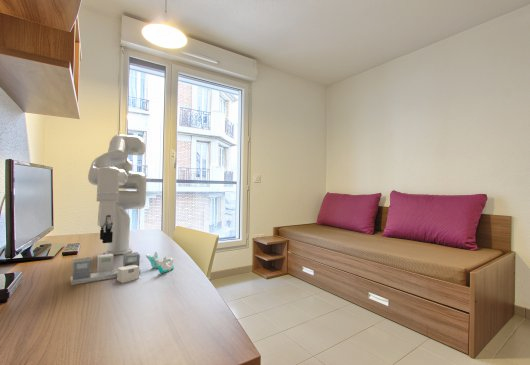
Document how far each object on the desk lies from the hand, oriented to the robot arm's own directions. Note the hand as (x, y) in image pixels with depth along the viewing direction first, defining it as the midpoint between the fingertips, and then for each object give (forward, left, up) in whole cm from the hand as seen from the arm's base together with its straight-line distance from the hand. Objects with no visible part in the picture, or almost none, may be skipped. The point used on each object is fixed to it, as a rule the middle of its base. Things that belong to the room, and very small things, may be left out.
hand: (105, 240), depth 104 cm
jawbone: (+8, +20, -13) cm, 25 cm away
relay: (+13, +6, -13) cm, 19 cm away
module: (-1, 0, -12) cm, 12 cm away
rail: (+7, 0, -12) cm, 14 cm away
